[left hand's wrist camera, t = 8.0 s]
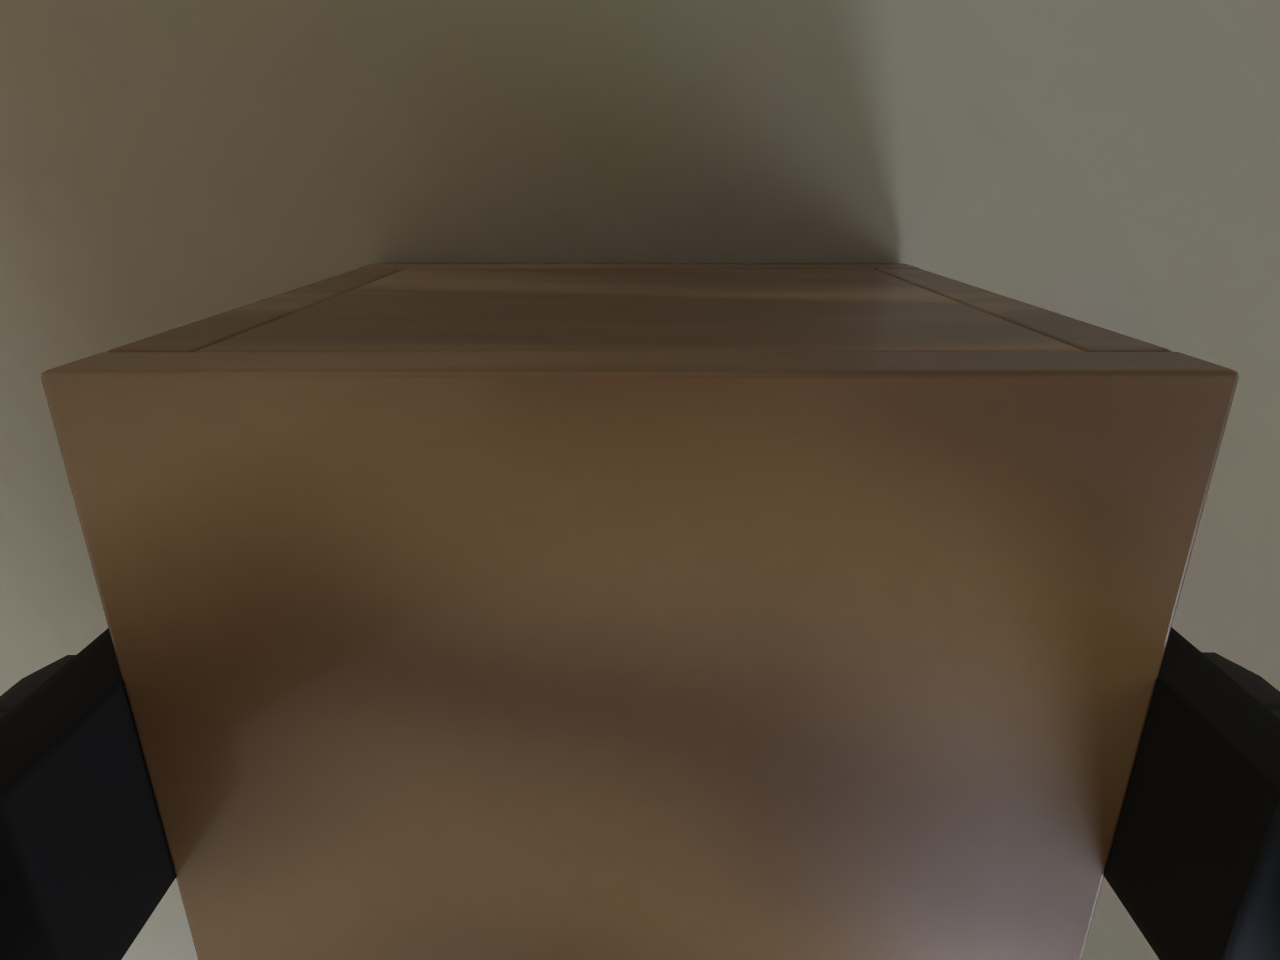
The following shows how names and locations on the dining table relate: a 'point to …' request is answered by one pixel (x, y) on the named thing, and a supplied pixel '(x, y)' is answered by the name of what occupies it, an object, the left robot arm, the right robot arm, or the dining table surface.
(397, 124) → the dining table surface
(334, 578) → the cabinet
